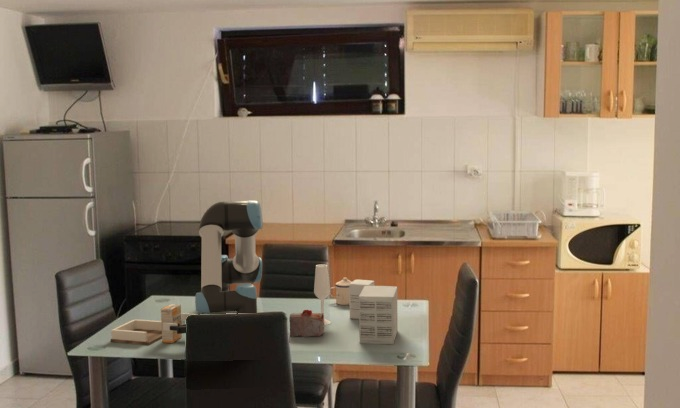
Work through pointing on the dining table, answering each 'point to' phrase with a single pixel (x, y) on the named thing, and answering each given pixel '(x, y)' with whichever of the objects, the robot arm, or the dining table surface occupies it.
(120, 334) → the walled holder
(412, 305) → the dining table surface
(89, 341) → the dining table surface
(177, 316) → the supplement box
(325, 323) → the champagne flute
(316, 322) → the food item
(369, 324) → the supplement box
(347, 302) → the teacup with lid
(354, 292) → the supplement box
